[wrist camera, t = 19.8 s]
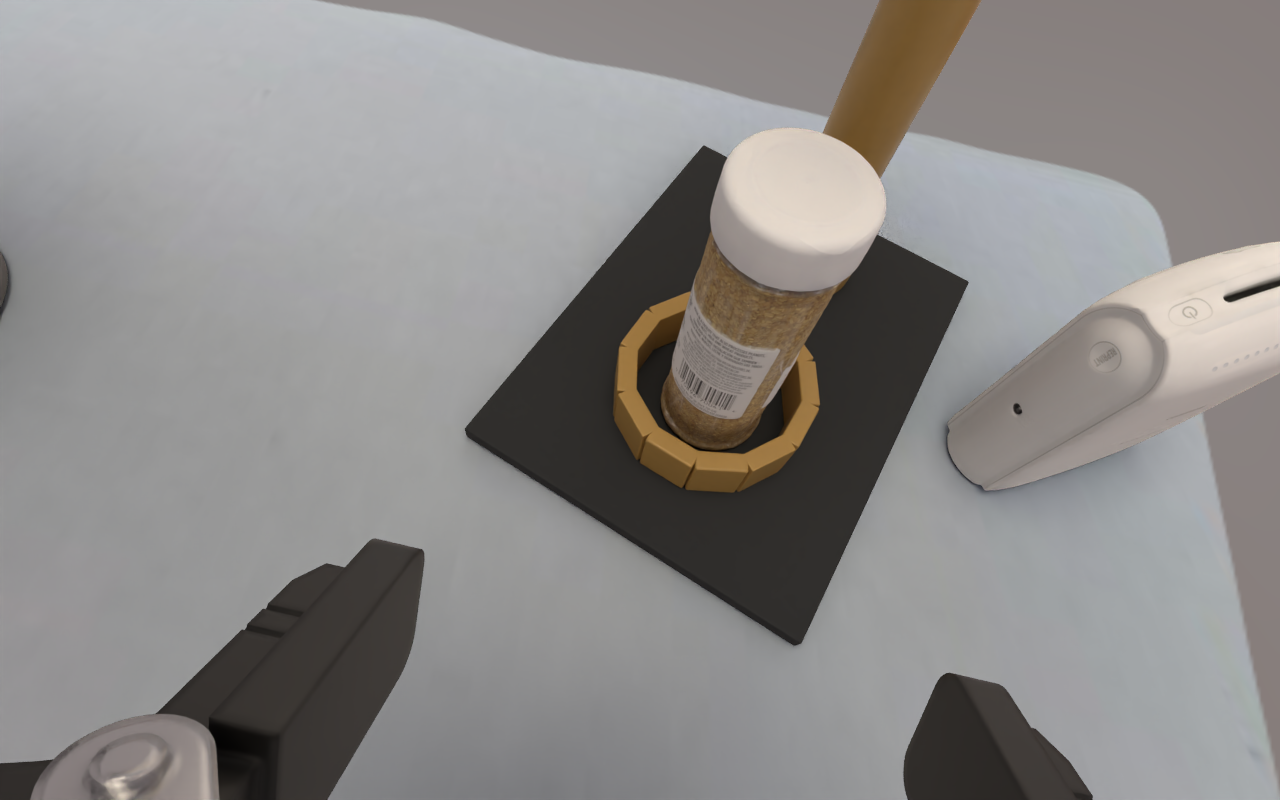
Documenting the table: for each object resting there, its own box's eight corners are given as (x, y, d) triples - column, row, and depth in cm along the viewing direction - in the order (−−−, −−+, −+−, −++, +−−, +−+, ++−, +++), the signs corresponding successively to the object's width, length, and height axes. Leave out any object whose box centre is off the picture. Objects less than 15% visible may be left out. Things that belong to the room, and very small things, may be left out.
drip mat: (466, 436, 28) (463, 428, 28) (700, 155, 37) (703, 144, 37) (794, 646, 26) (801, 643, 25) (961, 290, 35) (969, 281, 34)
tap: (576, 424, 28) (640, -1316, 4) (751, 190, 35) (1140, -940, 11) (781, 551, 27) (2752, -1096, 3) (921, 278, 34) (1786, -822, 10)
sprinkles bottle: (778, 420, 29) (927, 205, 17) (698, 473, 28) (802, 276, 16) (716, 346, 31) (813, 99, 19) (636, 391, 29) (688, 155, 17)
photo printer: (973, 507, 29) (1220, 372, 18) (925, 423, 31) (1124, 253, 20) (1149, 446, 32) (1461, 294, 21) (1096, 371, 33) (1357, 193, 22)
